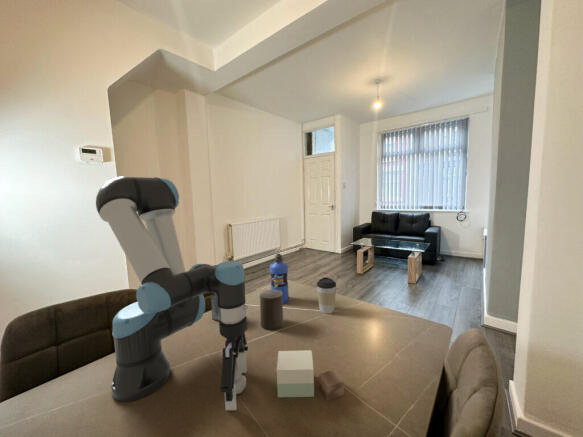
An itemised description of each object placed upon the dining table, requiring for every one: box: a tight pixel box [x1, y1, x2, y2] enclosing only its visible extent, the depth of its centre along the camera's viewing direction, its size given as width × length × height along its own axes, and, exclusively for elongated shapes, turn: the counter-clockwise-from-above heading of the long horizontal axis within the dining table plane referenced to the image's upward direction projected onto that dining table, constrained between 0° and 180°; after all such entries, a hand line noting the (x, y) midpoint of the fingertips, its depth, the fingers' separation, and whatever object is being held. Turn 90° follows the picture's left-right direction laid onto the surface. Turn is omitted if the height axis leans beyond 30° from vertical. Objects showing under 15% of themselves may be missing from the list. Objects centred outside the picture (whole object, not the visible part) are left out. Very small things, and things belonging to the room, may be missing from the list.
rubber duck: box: [234, 367, 247, 395], centre depth 69 cm, size 5×7×8 cm
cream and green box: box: [276, 349, 315, 398], centre depth 69 cm, size 10×8×8 cm
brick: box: [318, 369, 345, 401], centre depth 67 cm, size 5×5×4 cm
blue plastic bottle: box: [269, 253, 290, 305], centre depth 125 cm, size 9×9×25 cm
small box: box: [210, 295, 219, 323], centre depth 109 cm, size 11×6×10 cm, turn 58°
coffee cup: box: [316, 276, 337, 314], centre depth 114 cm, size 9×9×15 cm
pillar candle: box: [259, 289, 284, 331], centre depth 103 cm, size 10×10×15 cm
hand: (237, 388), depth 69 cm, fingers open, 12 cm apart
